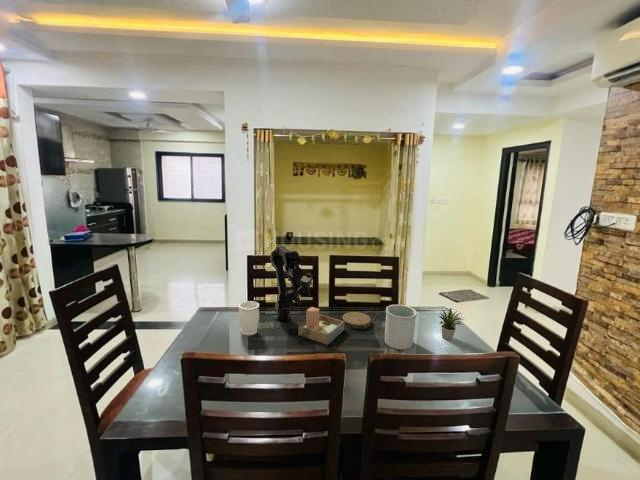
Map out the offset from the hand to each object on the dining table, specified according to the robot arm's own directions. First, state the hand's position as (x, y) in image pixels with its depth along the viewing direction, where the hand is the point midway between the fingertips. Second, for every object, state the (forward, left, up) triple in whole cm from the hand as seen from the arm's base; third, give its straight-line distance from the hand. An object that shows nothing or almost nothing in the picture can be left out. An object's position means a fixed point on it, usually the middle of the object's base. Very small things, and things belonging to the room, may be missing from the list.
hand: (305, 300), depth 178 cm
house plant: (+67, +32, -16) cm, 76 cm away
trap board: (+6, +1, -16) cm, 17 cm away
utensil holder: (+47, +14, -16) cm, 52 cm away
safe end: (+15, +1, -16) cm, 22 cm away
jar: (-22, -19, -16) cm, 33 cm away
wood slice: (+20, +23, -17) cm, 35 cm away
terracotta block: (+4, +1, -13) cm, 14 cm away
